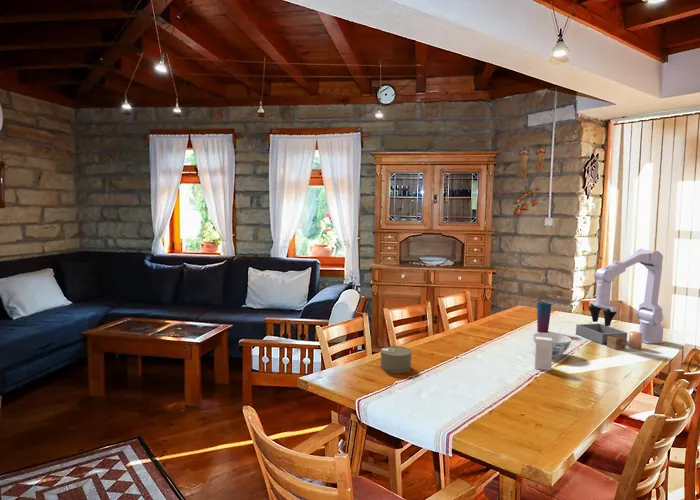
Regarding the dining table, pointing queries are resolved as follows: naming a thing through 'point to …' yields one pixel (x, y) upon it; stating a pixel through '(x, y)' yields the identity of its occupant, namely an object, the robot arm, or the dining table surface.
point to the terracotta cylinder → (635, 340)
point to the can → (396, 359)
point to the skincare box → (543, 353)
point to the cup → (543, 316)
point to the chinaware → (556, 342)
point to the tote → (598, 332)
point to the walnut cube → (616, 342)
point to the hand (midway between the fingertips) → (601, 323)
